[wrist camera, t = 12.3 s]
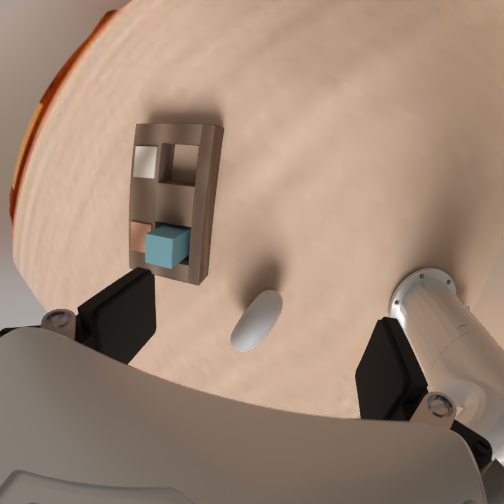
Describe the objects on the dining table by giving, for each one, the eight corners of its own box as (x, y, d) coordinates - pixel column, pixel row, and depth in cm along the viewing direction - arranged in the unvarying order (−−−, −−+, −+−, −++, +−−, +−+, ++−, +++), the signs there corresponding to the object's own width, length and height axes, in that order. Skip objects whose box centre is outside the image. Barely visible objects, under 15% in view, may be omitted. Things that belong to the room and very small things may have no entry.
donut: (271, 274, 40) (260, 307, 31) (290, 287, 40) (284, 323, 31) (235, 318, 44) (218, 356, 34) (253, 330, 44) (239, 369, 34)
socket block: (224, 129, 35) (214, 124, 31) (207, 275, 42) (197, 286, 38) (150, 126, 36) (135, 123, 32) (142, 259, 44) (128, 268, 40)
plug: (196, 225, 40) (172, 239, 32) (194, 250, 41) (171, 269, 34) (172, 220, 40) (145, 233, 33) (171, 245, 42) (145, 262, 34)
